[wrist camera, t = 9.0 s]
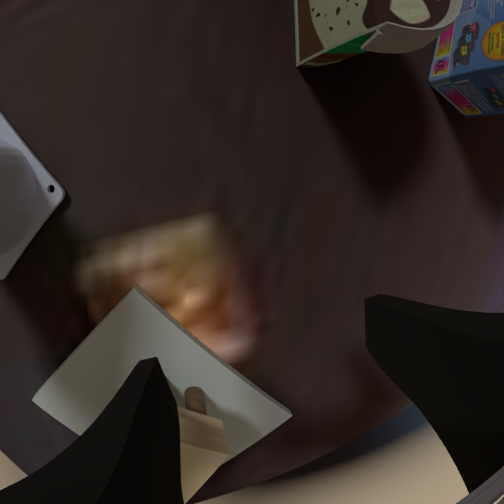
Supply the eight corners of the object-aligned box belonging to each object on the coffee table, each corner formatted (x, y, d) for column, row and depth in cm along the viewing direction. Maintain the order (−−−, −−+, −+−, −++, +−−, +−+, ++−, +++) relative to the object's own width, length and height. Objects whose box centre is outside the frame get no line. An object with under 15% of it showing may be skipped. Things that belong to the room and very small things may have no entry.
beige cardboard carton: (112, 438, 21) (104, 500, 15) (149, 362, 20) (143, 430, 14) (168, 456, 22) (171, 517, 16) (215, 387, 21) (229, 454, 15)
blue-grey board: (34, 394, 19) (31, 400, 19) (136, 284, 19) (134, 289, 18) (178, 483, 24) (178, 489, 24) (289, 409, 24) (292, 415, 24)
